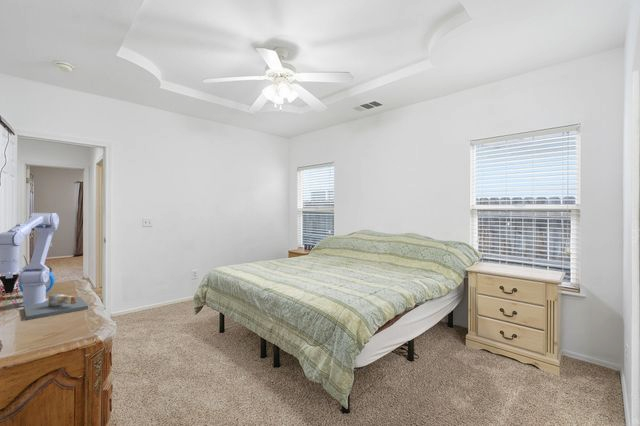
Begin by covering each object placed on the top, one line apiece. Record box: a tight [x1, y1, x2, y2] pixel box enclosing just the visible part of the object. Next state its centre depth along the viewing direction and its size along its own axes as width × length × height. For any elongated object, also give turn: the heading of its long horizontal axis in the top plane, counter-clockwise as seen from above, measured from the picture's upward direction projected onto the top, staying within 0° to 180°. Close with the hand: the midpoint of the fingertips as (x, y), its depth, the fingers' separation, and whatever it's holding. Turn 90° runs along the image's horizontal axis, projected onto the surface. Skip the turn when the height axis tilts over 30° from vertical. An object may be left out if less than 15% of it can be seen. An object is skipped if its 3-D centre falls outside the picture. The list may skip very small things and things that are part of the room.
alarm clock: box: [18, 265, 56, 294], centre depth 157 cm, size 13×6×15 cm, turn 126°
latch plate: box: [23, 296, 89, 321], centre depth 136 cm, size 20×20×2 cm
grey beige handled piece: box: [48, 293, 77, 307], centre depth 135 cm, size 13×5×4 cm, turn 78°
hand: (9, 292), depth 127 cm, fingers closed
